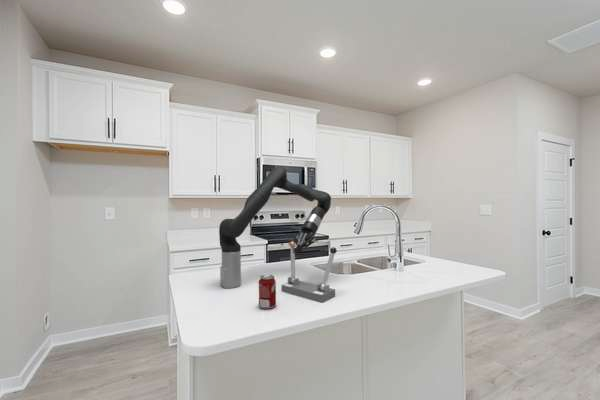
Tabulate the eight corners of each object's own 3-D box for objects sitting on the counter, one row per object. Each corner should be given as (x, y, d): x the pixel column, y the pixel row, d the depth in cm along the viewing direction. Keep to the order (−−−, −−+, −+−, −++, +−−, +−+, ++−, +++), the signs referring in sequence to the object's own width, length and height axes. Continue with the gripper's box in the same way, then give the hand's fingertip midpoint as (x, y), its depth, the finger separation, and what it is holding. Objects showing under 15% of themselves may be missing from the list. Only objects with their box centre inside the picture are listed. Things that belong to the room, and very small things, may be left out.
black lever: (321, 290, 123) (333, 248, 131) (326, 291, 121) (338, 249, 129) (317, 288, 121) (329, 245, 129) (323, 289, 119) (335, 246, 127)
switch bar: (295, 286, 138) (295, 274, 138) (335, 296, 124) (335, 283, 124) (281, 291, 131) (281, 279, 130) (322, 302, 116) (322, 288, 116)
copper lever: (293, 281, 135) (292, 240, 134) (297, 282, 133) (296, 241, 132) (288, 283, 132) (287, 241, 132) (293, 284, 130) (292, 242, 130)
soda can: (268, 311, 108) (268, 279, 108) (255, 307, 111) (255, 277, 111) (279, 305, 113) (279, 275, 113) (266, 302, 117) (265, 273, 117)
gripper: (325, 230, 140) (311, 259, 130) (304, 229, 148) (289, 256, 138) (319, 220, 136) (304, 249, 126) (298, 219, 144) (282, 246, 134)
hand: (296, 252), depth 132 cm, fingers closed
